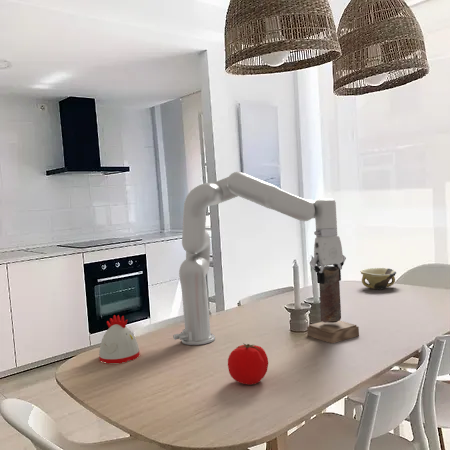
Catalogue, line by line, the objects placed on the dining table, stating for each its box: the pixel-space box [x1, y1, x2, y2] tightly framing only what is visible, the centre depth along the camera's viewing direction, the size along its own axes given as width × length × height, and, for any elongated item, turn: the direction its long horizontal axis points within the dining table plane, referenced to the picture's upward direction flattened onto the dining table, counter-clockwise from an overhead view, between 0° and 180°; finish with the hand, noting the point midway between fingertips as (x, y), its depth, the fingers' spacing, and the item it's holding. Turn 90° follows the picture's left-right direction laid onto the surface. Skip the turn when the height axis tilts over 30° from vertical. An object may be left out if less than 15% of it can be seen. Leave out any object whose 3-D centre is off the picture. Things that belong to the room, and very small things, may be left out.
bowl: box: [360, 267, 397, 290], centre depth 255 cm, size 18×18×10 cm
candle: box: [318, 265, 342, 323], centre depth 178 cm, size 8×7×20 cm
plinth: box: [306, 319, 360, 344], centre depth 179 cm, size 13×13×4 cm
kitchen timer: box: [98, 314, 141, 364], centre depth 172 cm, size 14×14×15 cm
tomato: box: [227, 342, 269, 386], centre depth 141 cm, size 12×12×11 cm
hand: (329, 281), depth 178 cm, fingers closed on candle, 7 cm apart
